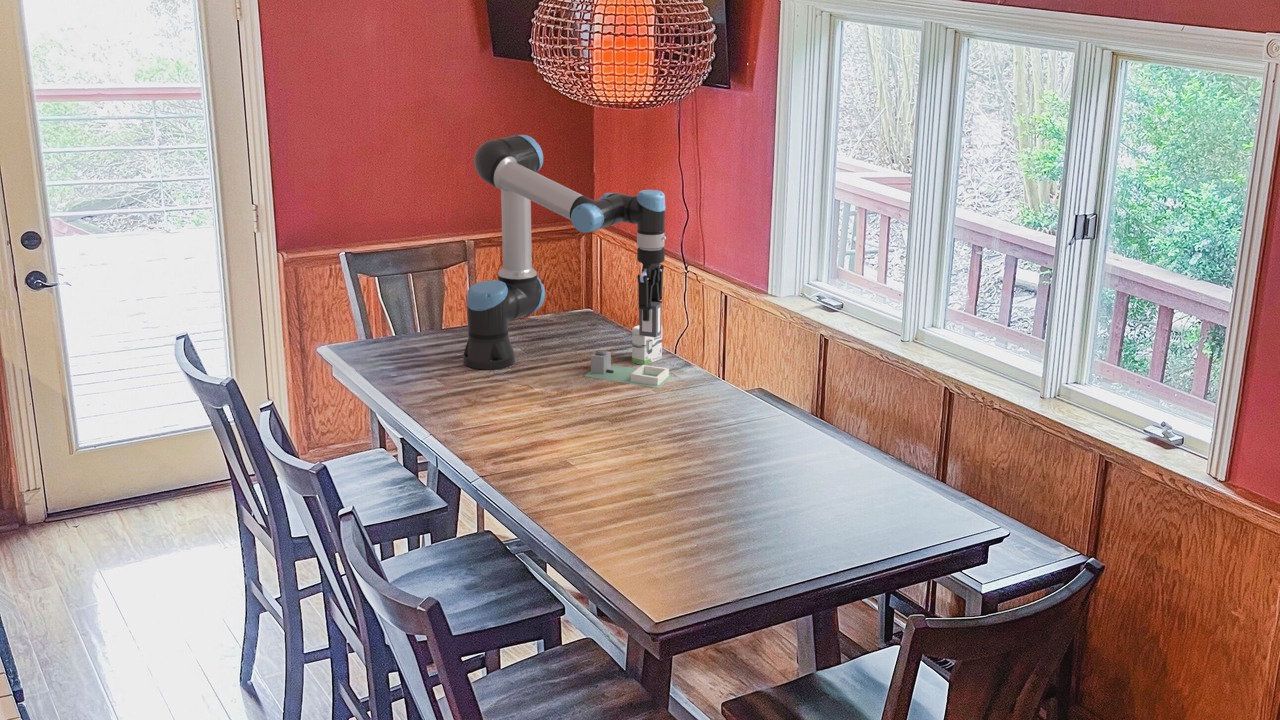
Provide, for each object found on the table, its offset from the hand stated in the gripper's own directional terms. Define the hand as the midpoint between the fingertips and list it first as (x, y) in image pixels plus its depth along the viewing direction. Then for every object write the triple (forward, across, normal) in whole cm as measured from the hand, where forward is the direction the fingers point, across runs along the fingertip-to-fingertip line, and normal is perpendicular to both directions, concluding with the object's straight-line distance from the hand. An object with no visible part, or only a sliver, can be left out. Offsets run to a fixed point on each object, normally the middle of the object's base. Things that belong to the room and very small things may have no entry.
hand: (650, 328), depth 348 cm
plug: (+2, 0, 0) cm, 2 cm away
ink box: (+16, +15, +7) cm, 23 cm away
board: (+16, 0, +6) cm, 17 cm away
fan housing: (+15, +1, +14) cm, 21 cm away
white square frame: (+15, 0, 0) cm, 15 cm away
